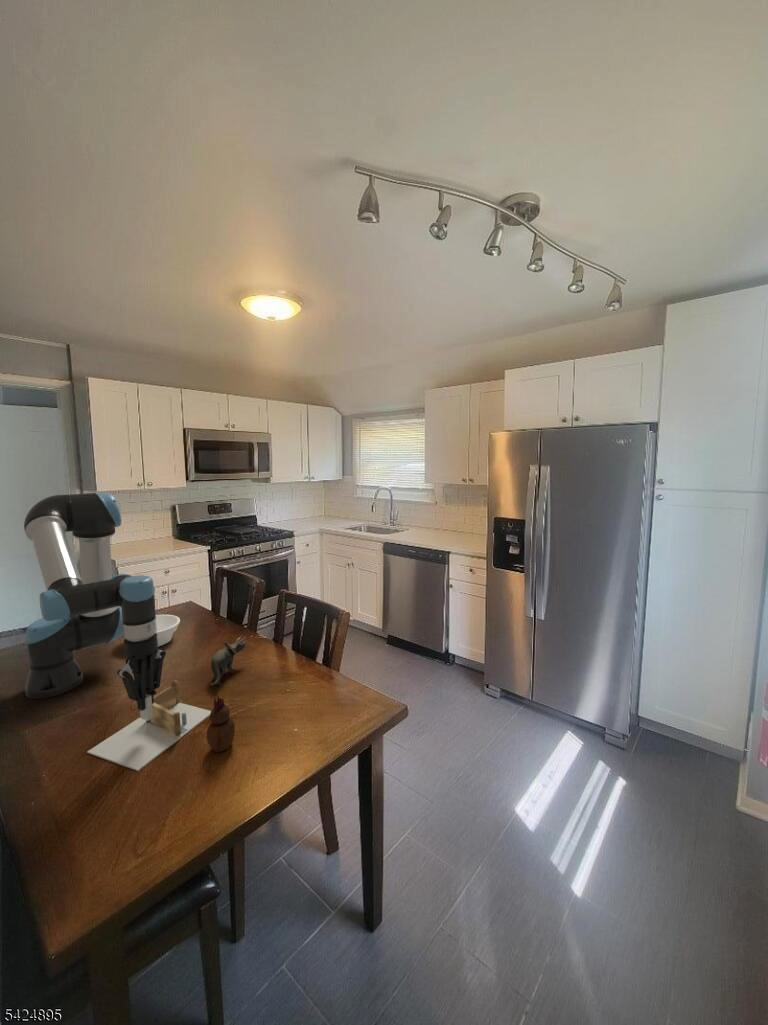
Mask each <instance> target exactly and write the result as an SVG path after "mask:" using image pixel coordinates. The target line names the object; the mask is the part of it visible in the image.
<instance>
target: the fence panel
mask: <svg viewBox="0 0 768 1025" xmlns="http://www.w3.org/2000/svg"><path fill="white" fill-rule="evenodd" d="M152 711H153V718H152V719H150V720H151V722H152V723H154V724H156V725H158V726H160V727H161V728H163V729H165V730H167V731H169V732H171V733H173V734H175V735H176V736H179V735H181V724H180V713H179V712H177V713H175V712H173V711H171V710H169V709H167V708H165V707H162V706H160V705H158V704H156V703H153V704H152Z"/></svg>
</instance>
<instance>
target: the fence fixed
mask: <svg viewBox="0 0 768 1025" xmlns="http://www.w3.org/2000/svg"><path fill="white" fill-rule="evenodd" d="M179 691H180V690H179V681H178V679H173V680H172V681H171V685H170V686H168V687H166V688H165V689H163V690H162V691H160V692H159V693H156V694H155V695H153V696H154V703H156V704H158V705H160V706H162V707H165V708H167V709H169V708H171V707H172V706H174V705H175V704H177V703H179V702H180V692H179ZM146 722H147V723H149V722H151V720H149V721H147V720H146Z"/></svg>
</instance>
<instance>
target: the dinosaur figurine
mask: <svg viewBox="0 0 768 1025" xmlns="http://www.w3.org/2000/svg"><path fill="white" fill-rule="evenodd" d="M243 636H244V635H243V634H242V635H241V636H240V637H238V638H237V639H236V640H235V642H234V643H232V644H230V643H229V642H227V641H224V642H223V643H224V646H225V647H226V648H222V649H220V650H218V651H216V652H215V654H214V655H213V656H212V658H211V661H210V668H211V671H212V673H213V676H214V677H213V678H212V680H214V682H213V683H212V682H211V683H210V684H209V686H215V685H217V686H222V683H221V682H220V681H221V679H222V676H223V675H224V674H225V673H226V670H228V671H229V674H234V673H235V672H236V671H237V669H236V668H233V667H232V665H233V661H234V659H235V658H234V657H235V655H237V654H239V653H240V652H242V651H243V650H245V649H246V648H247V643H246V641H245V639H246V637H243ZM242 637H243V639H241V638H242Z"/></svg>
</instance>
